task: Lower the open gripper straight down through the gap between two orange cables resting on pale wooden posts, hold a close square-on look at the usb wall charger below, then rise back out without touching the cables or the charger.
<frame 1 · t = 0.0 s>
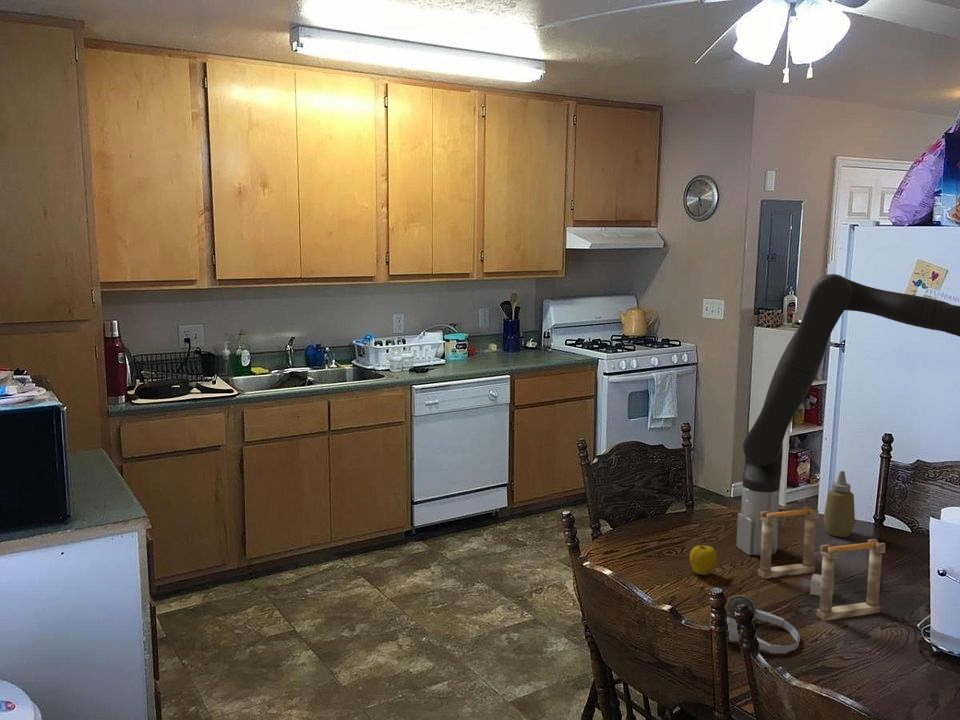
usb wall charger: (815, 593, 183), on the table
apple: (702, 575, 193), on the table
headphones: (750, 633, 165), on the table
inner cable: (789, 513, 191), point 15 cm above the table, touching cable frame
outer cable: (852, 547, 170), point 15 cm above the table, touching cable frame
cable frame: (815, 592, 183), on the table
squeeze bottle: (838, 534, 219), on the table
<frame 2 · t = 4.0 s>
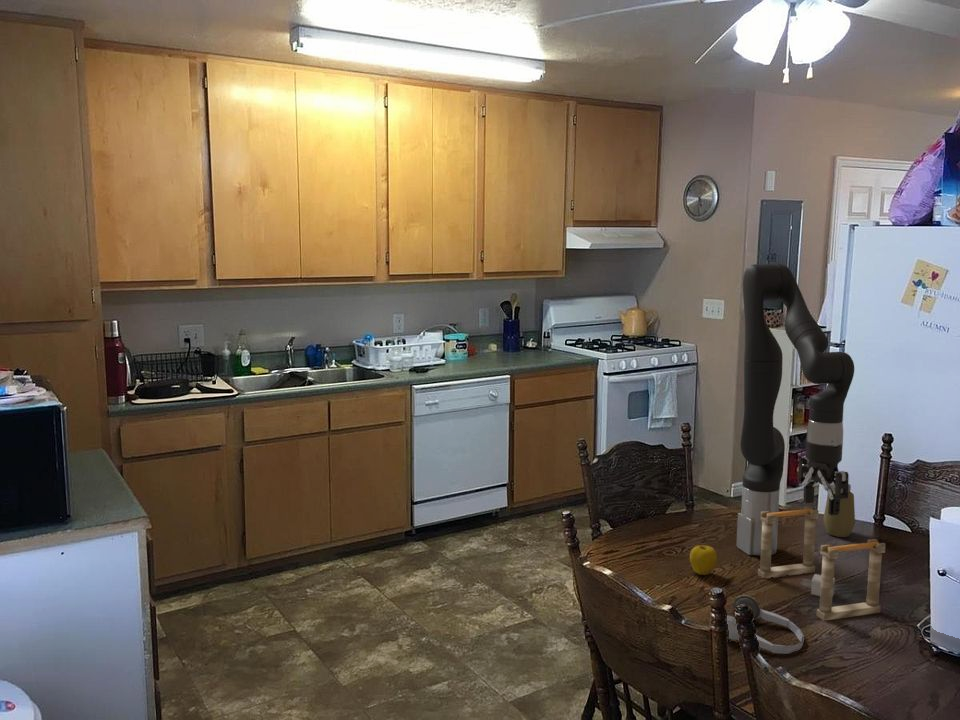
hand: (820, 508, 180), 20 cm above the table, tool pointing down, fingers open, 8 cm apart
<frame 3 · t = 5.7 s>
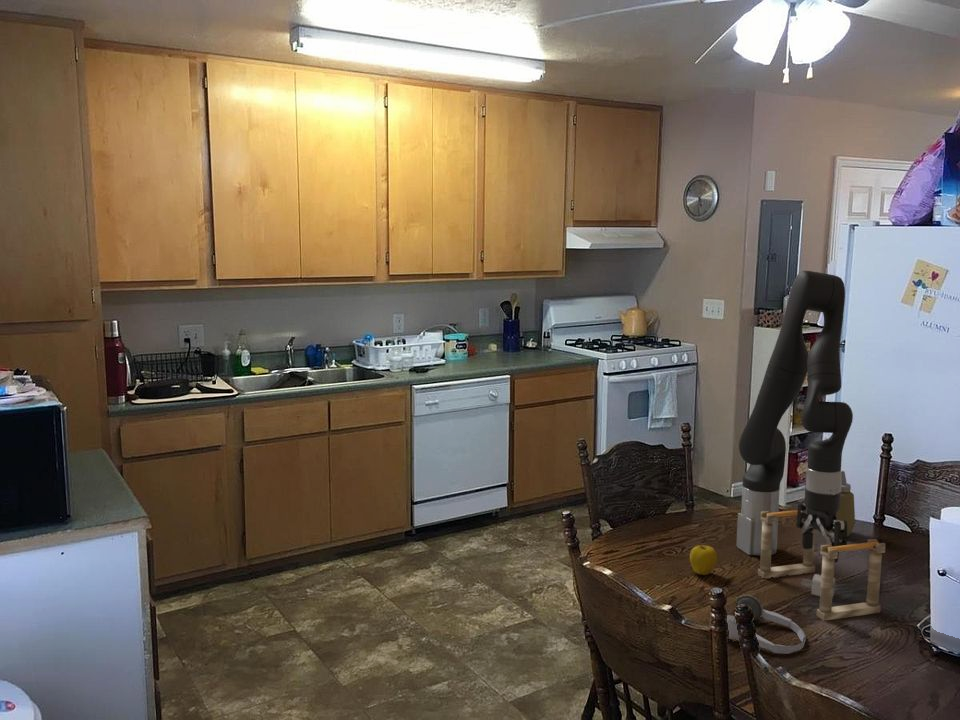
hand: (819, 555, 181), 9 cm above the table, tool pointing down, fingers open, 8 cm apart
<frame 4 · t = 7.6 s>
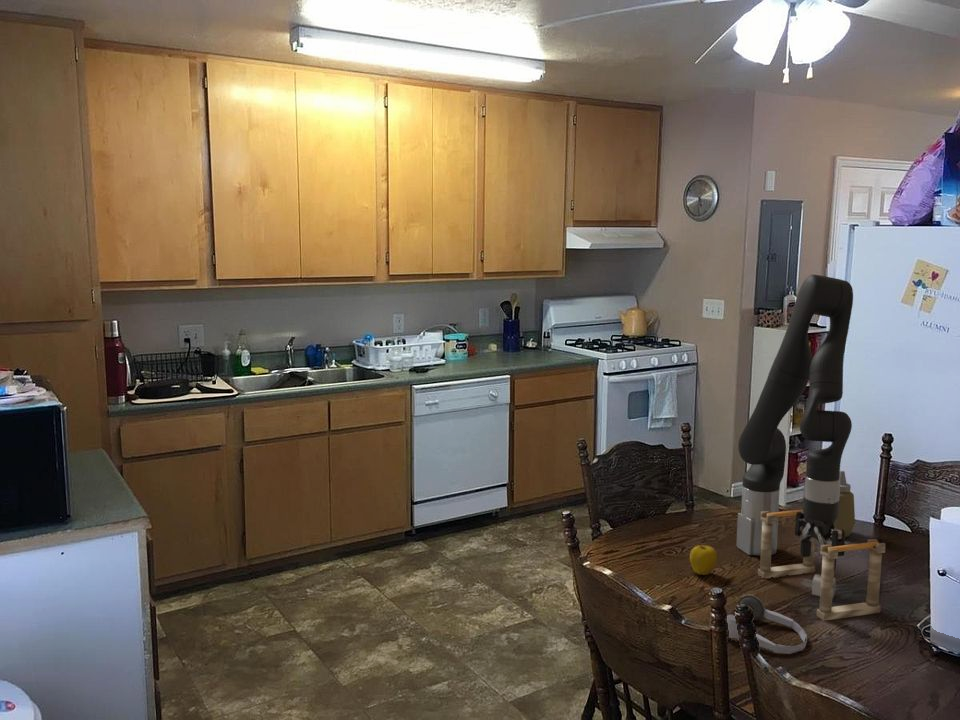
hand: (817, 563, 182), 7 cm above the table, tool pointing down, fingers open, 8 cm apart
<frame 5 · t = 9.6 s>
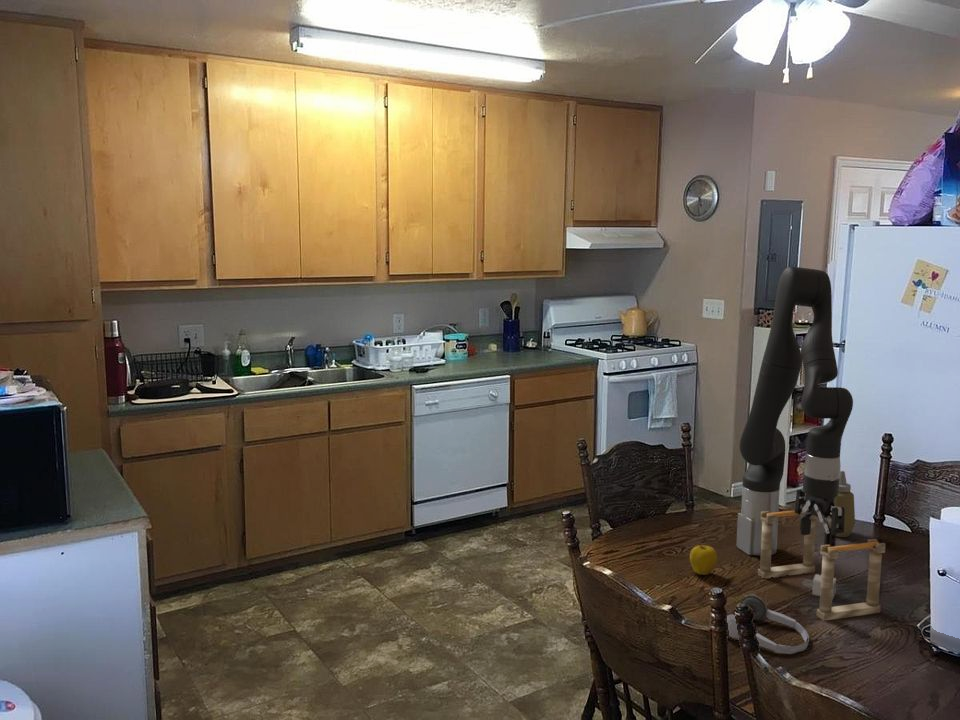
hand: (816, 541, 181), 12 cm above the table, tool pointing down, fingers open, 8 cm apart
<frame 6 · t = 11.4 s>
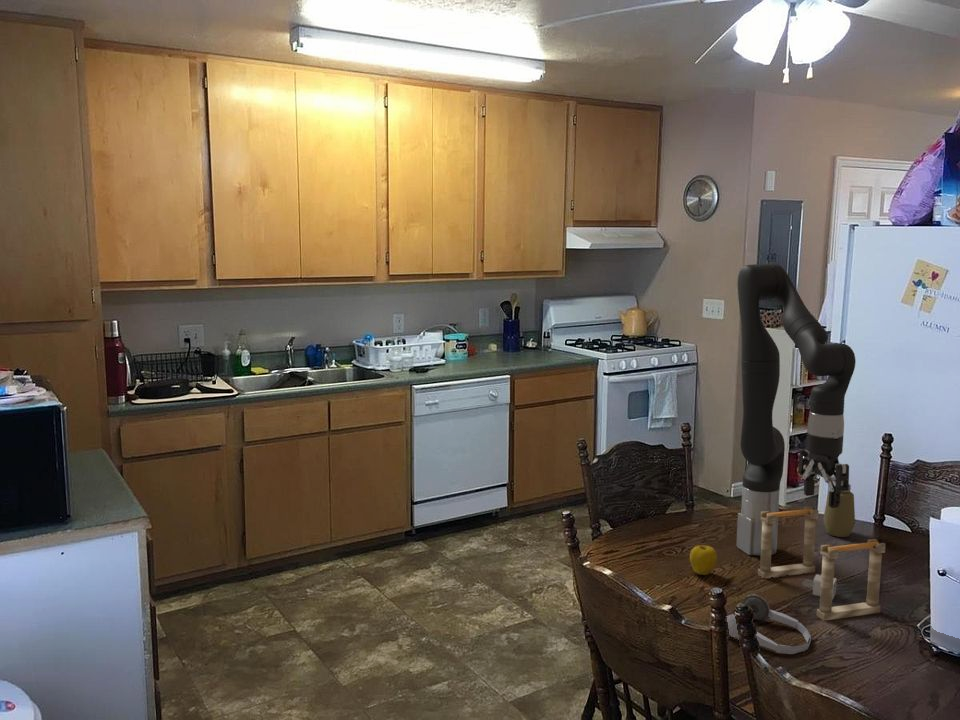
hand: (821, 501, 179), 22 cm above the table, tool pointing down, fingers open, 8 cm apart
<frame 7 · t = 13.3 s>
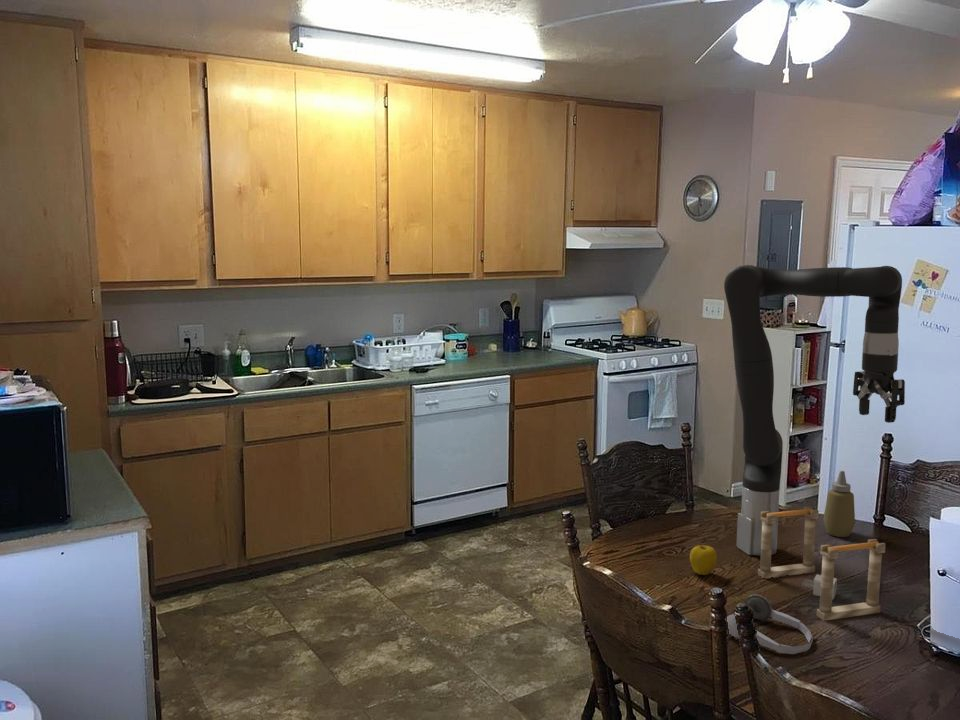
hand: (876, 418, 187), 39 cm above the table, tool pointing down, fingers open, 8 cm apart
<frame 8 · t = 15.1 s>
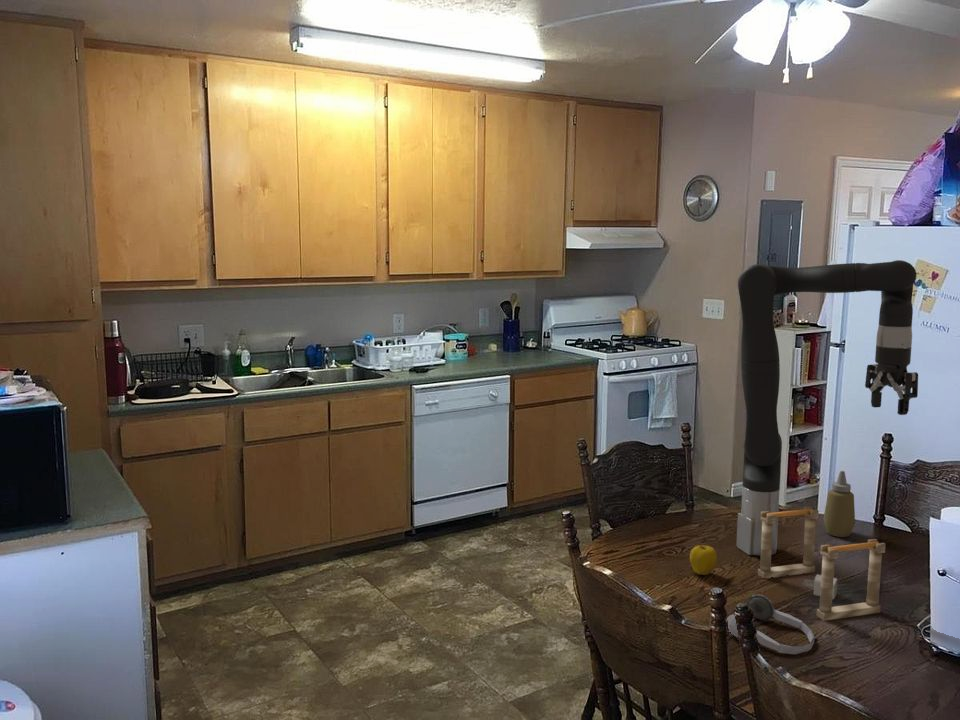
hand: (888, 410, 190), 40 cm above the table, tool pointing down, fingers open, 8 cm apart
at the end: usb wall charger moved 0.8 cm from its start; inner cable moved 0.0 cm from its start; outer cable moved 0.0 cm from its start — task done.
